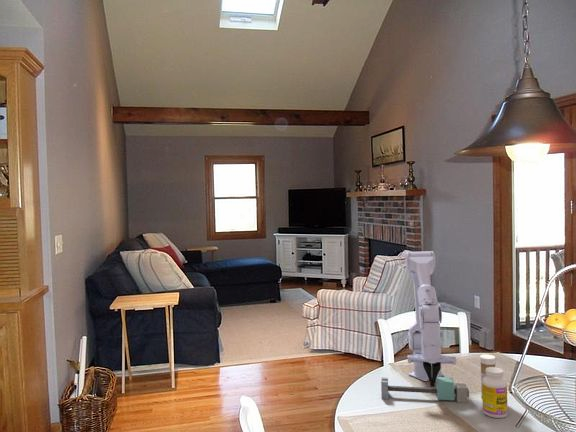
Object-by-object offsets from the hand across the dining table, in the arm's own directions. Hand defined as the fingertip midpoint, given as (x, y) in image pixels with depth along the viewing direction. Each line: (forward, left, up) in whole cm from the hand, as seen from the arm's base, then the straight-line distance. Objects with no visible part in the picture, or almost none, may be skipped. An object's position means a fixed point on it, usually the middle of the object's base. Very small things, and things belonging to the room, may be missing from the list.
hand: (432, 385), depth 148 cm
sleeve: (-3, +3, -4) cm, 6 cm away
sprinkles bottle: (-13, +11, -4) cm, 17 cm away
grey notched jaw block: (+10, -10, -4) cm, 15 cm away
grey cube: (-6, +6, -4) cm, 9 cm away
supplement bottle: (-6, +18, -4) cm, 19 cm away
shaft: (+2, -2, -2) cm, 3 cm away
